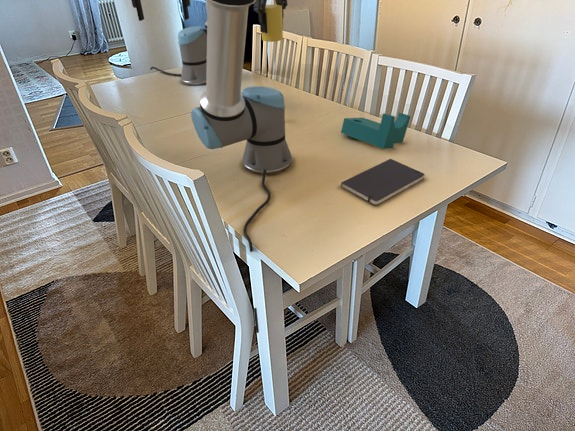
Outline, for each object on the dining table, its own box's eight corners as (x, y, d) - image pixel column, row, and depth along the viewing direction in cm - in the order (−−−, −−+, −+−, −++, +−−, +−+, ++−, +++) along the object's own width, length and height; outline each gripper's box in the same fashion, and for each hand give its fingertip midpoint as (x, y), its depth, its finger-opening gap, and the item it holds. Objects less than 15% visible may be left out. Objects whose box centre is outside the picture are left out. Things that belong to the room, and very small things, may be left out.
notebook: (389, 163, 124) (340, 187, 113) (390, 158, 123) (341, 182, 112) (424, 178, 116) (375, 206, 105) (425, 174, 115) (376, 201, 104)
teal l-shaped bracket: (401, 146, 136) (410, 115, 131) (383, 149, 129) (392, 116, 124) (359, 131, 147) (366, 102, 142) (340, 132, 139) (347, 102, 135)
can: (262, 37, 156) (260, 4, 149) (282, 36, 156) (281, 4, 149) (261, 42, 149) (260, 8, 143) (283, 41, 149) (282, 7, 143)
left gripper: (254, -40, 129) (259, 36, 142) (297, -44, 141) (297, 26, 155) (238, -40, 133) (244, 34, 147) (281, -45, 146) (283, 24, 159)
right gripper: (197, -70, 110) (208, 16, 122) (107, -67, 111) (127, 17, 123) (191, -70, 104) (203, 20, 116) (96, -67, 105) (118, 22, 117)
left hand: (271, 30), depth 151 cm, fingers closed on can, 8 cm apart
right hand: (164, 19), depth 120 cm, fingers open, 13 cm apart
